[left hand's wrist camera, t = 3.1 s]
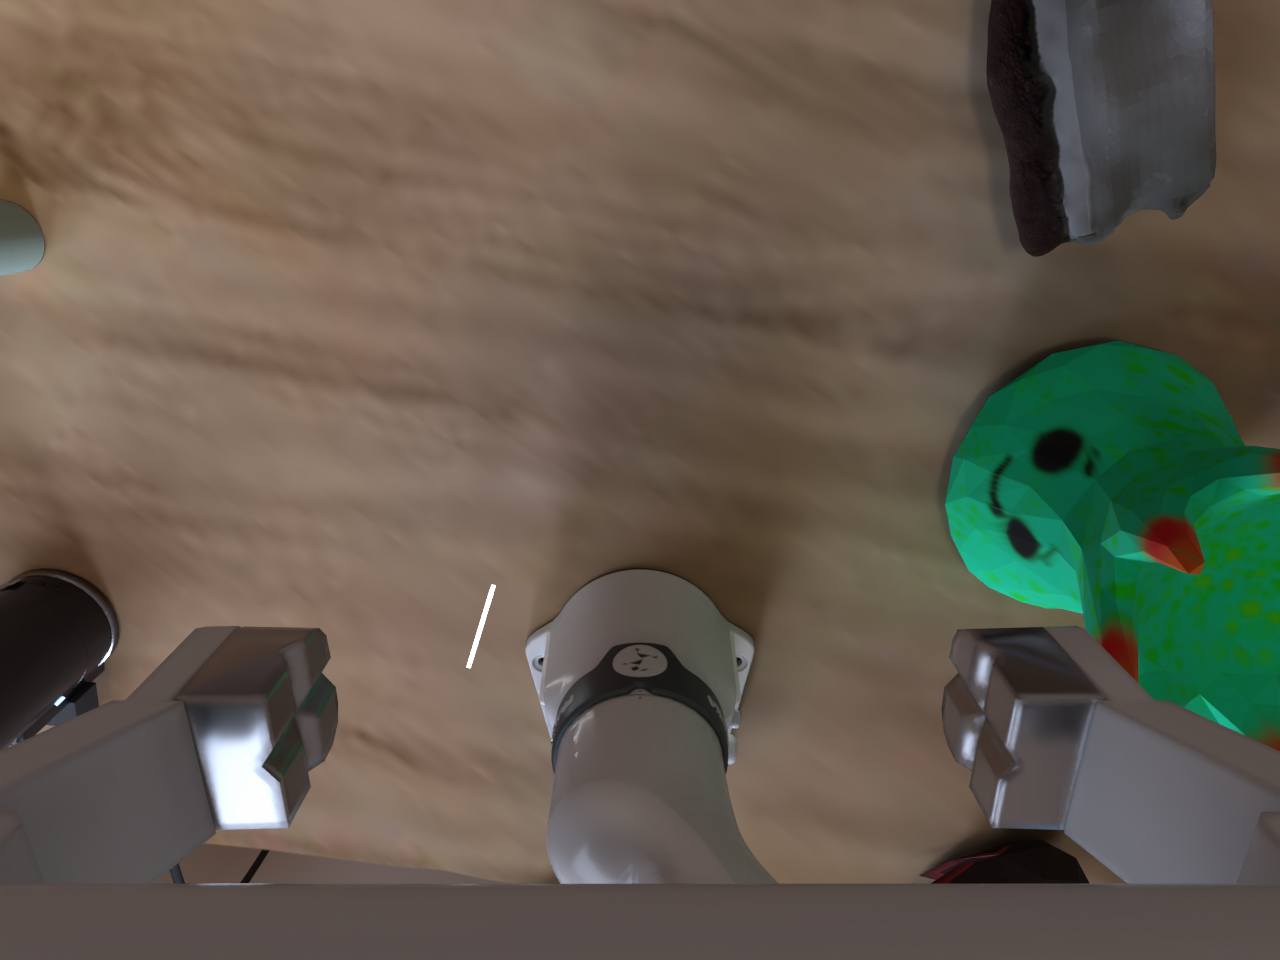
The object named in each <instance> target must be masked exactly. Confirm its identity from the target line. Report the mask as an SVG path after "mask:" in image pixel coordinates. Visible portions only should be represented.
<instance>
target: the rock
mask: <svg viewBox="0 0 1280 960" xmlns="http://www.w3.org/2000/svg"><path fill="white" fill-rule="evenodd" d="M987 84H988V89H989V93H990V97H991V101H992V105H993V109H994V112H995V115H996V118H997V120H998V123H999V125H1000V128H1001V130H1002V133H1003V136H1004V140H1005V144H1006V149H1007V154H1008V160H1009V166H1010V196H1011V201H1012V208H1013V213H1014V217H1015V221H1016V224H1017V228H1018V232H1019V238H1020V241H1021V244H1022V246H1023V248H1024V249H1025V251H1026V252H1027V253H1028V254H1030V255H1032V256H1035V257H1036V256H1042V255H1044V254H1046V253H1049V252H1050V251H1052V250H1053V249H1055V248H1056V247H1057V246H1059V245H1060V244H1062V243H1065V242H1072V241H1074V242H1079V243H1082V244H1094V243H1098V242H1099V241H1101V240H1103V239H1105V238H1106V237H1108V236H1109V235H1110V234H1112V233H1113V231H1114V230H1115V229H1116V228H1117V227H1118V226H1119V225H1120V223H1121V222H1122V221H1123V220H1124V219H1125V218H1126V217H1127V216H1128V215H1130V214H1131V213H1133V212H1136V211H1138V210H1143V209H1158V210H1161V211H1163V212H1165V213H1166V214H1167V215H1168V216H1169V218H1170V219H1173V220H1174V219H1177V218H1180V217H1181V216H1182V215H1183V213H1184V212H1185V211H1186V209H1187V208H1188V207H1189V206H1190V205H1191V204H1192V203H1193V202H1195V201H1196V200H1197V199H1198V198H1199V197H1200V196H1201V195H1202V194H1203V193H1204V192H1205V191H1206V190H1207V189H1208V188H1209V187H1210V182H1211V181H1212V179H1213V178H1214V173H1215V167H1216V140H1215V67H1214V42H1213V1H1212V0H992V1H991V9H990V15H989V24H988V51H987Z"/></svg>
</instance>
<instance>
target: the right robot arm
mask: <svg viewBox="0 0 1280 960" xmlns="http://www.w3.org/2000/svg"><path fill="white" fill-rule="evenodd" d="M118 639H119V626H118V621H117V618H116V615H115V613H114V611H113V609H112V607H111V605H110V604H109V602H108V601H107V600H106V599H105V597H104V596H103V595H102V594H101V593H100V592H99V591H98V590H96V589H95V588H94V587H93V586H91V585H90V584H89V583H87V582H85V581H84V580H82V579H80V578H78V577H76V576H73V575H71V574H68V573H65V572H61V571H56V570H33V571H29V572H26V573H23V574H21V575H19V576H17V577H16V578H14V579H12V580H11V581H9V582H8V583H6V584H3V585H1V586H0V751H2V750H4V749H6V748H8V747H9V746H10V745H12V746H13V745H15V744H17V743H19V742H22V741H24V740H26V739H28V738H31V737H33V736H35V735H36V734H37V733H38V732H39V731H40V730H41V729H42V728H43V727H44V726H45V725H53V726H57V725H59V724H62V723H64V722H66V721H68V720H70V719H73V718H75V717H77V716H79V715H81V714H84V713H86V712H88V711H90V710H92V709H95V708H97V707H99V705H98V697H97V689H96V683H94V682H92V681H93V680H94V679H95V678H97V677H98V676H99V675H100V674H101V673H102V672H103V671H104V661H105V660H106V659H107V658H108V657H109V656H110V655H111V654H112V653H113V651H114V650H115V648H116V646H117V643H118ZM269 851H270V850H267V849H262V850H261V852H260V854H259V855H258V857H257V858H256V860H255V861H254V863H253V864H252V866H251V867H250V869H249V870H248V872H247V873H246V875H245V876H244V878H243V879H242V881H241V882H240V883H239V884H248V883H249V882H250V881H251V879H252V877H253V876H254V874H255V873H256V871H257V870H258V868H259V867H260V865H261V864H262V862H263V861H264V859H265V857H266V856H267V854H268V852H269ZM170 873H171V876H172V879H173V882H174V884H185V882H184V879H183V876H182V873H181V870H180V867H179V863H178V864H177V865H175V866H174V867H173V868H172V869H170Z"/></svg>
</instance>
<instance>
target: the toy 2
mask: <svg viewBox="0 0 1280 960" xmlns="http://www.w3.org/2000/svg"><path fill="white" fill-rule="evenodd" d="M945 506H946V511H947V517H948V522H949V527H950V532H951V536H952V538H953V540H954V542H955V544H956V546H957V548H958V550H959V552H960V554H961V556H962V558H963V560H964V562H965V564H966V566H967V568H968V570H969V571H970V572H971V573H973V574H974V575H975V576H976V577H977V578H979V579H980V580H981V581H982V582H983V583H984V584H986V585H987V586H988V587H990V588H992V589H994V590H996V591H998V592H1001V593H1003V594H1005V595H1007V596H1010V597H1012V598H1014V599H1016V600H1018V601H1021V602H1024V603H1028V604H1032V605H1036V606H1040V607H1044V608H1061V609H1065V610H1070V611H1074V612H1078V613H1082V614H1083V616H1084V622H1085V629H1086V631H1087V632H1088V633H1089V634H1090V635H1091V636H1092V637H1093V638H1094V639H1095V640H1096V641H1097V642H1098V643H1099V644H1100V645H1101V646H1102V647H1103V648H1104V649H1105V650H1106V651H1107V652H1108V653H1109V654H1110V655H1111V656H1112V657H1113V658H1114V659H1115V660H1116V661H1117V662H1118V663H1119V664H1120V665H1121V666H1122V667H1123V668H1124V669H1125V670H1126V671H1127V672H1128V673H1129V675H1130V676H1131V677H1132V678H1133V679H1134V680H1135V681H1136V682H1137V683H1138V684H1139V685H1140V686H1141V687H1142V688H1143V689H1144V690H1145V691H1146V692H1147V693H1148V694H1149V695H1150V696H1151V697H1152V698H1153V699H1154V700H1155V701H1170V702H1172V703H1174V704H1176V705H1179V706H1181V707H1183V708H1186V709H1188V710H1190V711H1192V712H1194V713H1196V714H1199V715H1201V716H1203V717H1205V718H1207V719H1210V720H1212V721H1214V722H1216V723H1218V724H1221V725H1223V726H1225V727H1227V728H1229V729H1232V730H1234V731H1236V732H1238V733H1240V734H1243V735H1245V736H1247V737H1249V738H1251V739H1254V740H1256V741H1258V742H1260V743H1263V744H1265V745H1267V746H1269V747H1271V748H1274V749H1276V750H1278V751H1280V449H1274V448H1266V447H1257V446H1245V444H1244V443H1243V441H1242V440H1241V438H1240V436H1239V434H1238V432H1237V429H1236V425H1235V423H1234V421H1233V419H1232V418H1231V416H1230V414H1229V412H1228V410H1227V408H1226V406H1225V404H1224V403H1223V401H1222V399H1221V397H1220V395H1219V393H1218V391H1217V390H1216V388H1215V386H1214V384H1213V382H1212V381H1211V380H1209V379H1208V378H1207V377H1205V376H1204V375H1203V374H1201V373H1200V372H1199V371H1197V370H1196V369H1195V368H1193V367H1192V366H1191V365H1189V364H1188V363H1187V362H1186V361H1184V360H1183V359H1182V358H1180V357H1179V356H1178V355H1174V354H1170V353H1166V352H1162V351H1158V350H1154V349H1150V348H1146V347H1142V346H1138V345H1134V344H1131V343H1127V342H1123V341H1119V340H1116V341H1112V342H1107V343H1102V344H1097V345H1092V346H1087V347H1082V348H1077V349H1073V350H1068V351H1063V352H1058V353H1053V354H1051V355H1049V356H1048V357H1046V358H1045V359H1044V360H1042V361H1041V362H1039V363H1038V364H1036V365H1035V366H1033V367H1032V368H1030V369H1029V370H1027V371H1026V372H1025V373H1023V374H1022V375H1020V376H1019V377H1017V378H1016V379H1014V380H1013V381H1011V382H1010V383H1008V384H1007V385H1005V386H1004V387H1003V388H1001V389H1000V390H998V391H997V392H995V393H994V394H992V395H991V396H989V398H988V399H987V401H986V403H985V405H984V406H983V408H982V410H981V411H980V413H979V415H978V416H977V418H976V420H975V421H974V423H973V425H972V426H971V428H970V430H969V431H968V433H967V435H966V436H965V438H964V440H963V441H962V443H961V445H960V446H959V448H958V450H957V451H956V453H955V455H954V456H953V461H952V467H951V473H950V478H949V484H948V490H947V495H946V501H945Z"/></svg>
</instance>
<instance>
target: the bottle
mask: <svg viewBox="0 0 1280 960" xmlns="http://www.w3.org/2000/svg"><path fill="white" fill-rule="evenodd" d="M44 246H45V244H44V237H43V234H42V231H41V229H40V227H39V225H38V223H37V222H36V220H35V219H34V218H33V217H32V216H31V215H30V214H29V213H28V212H27V211H26V210H25V209H23V208H22V207H20V206H19V205H17V204H15V203H12V202H10V201H6V200H0V276H2V275H8V274H14V273H20V272H25V271H28V270H31V269H33V268H34V267H35V266H36V265H38V263H39V262H40V261H41V259H42V257H43V254H44Z"/></svg>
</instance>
